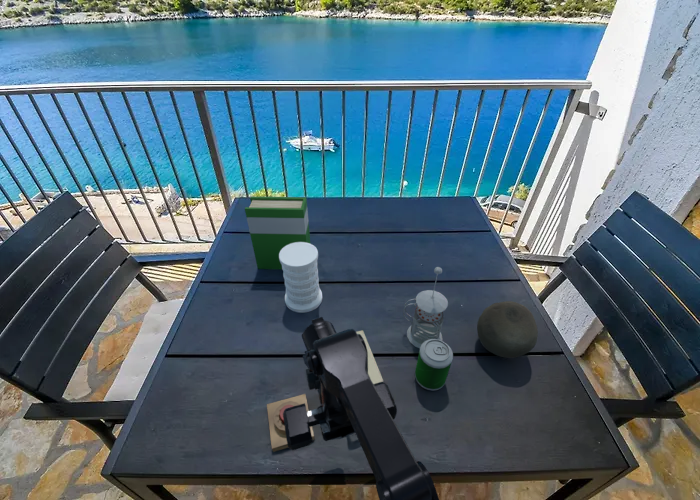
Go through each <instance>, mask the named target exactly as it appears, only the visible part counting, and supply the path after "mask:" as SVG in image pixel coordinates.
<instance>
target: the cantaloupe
mask: <svg viewBox="0 0 700 500" xmlns="http://www.w3.org/2000/svg"><path fill="white" fill-rule="evenodd" d="M476 331H477V337H478V339H479V342H480V343H481V345H482V346H483V347H484V349H485V350H486V351H488V352H490V353H491V354H493V355H495V356H498V357H501V358H505V359H514V358H519V357H522V356H524V355H526V354H528V353H529V352H531V351H532V350H533V349H534V348H535V346H536V344H537V341H538V337H539V330H538V325H537V321H536V319H535V316H534V314H533V313H532V311H531V310H530V309H529V308H528V307H527V306H525V305H523V304H521V303H519V302H517V301H512V300H506V301H499V302H494V303H492V304H490V305H489V306H488V307H485V308H484V310H483V311H482V313H481V314H480V315H479V317H478V320H477V323H476Z"/></svg>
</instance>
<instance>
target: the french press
mask: <svg viewBox="0 0 700 500" xmlns="http://www.w3.org/2000/svg"><path fill="white" fill-rule="evenodd" d="M433 273H434V274H435V276H436V277H435V281H434V286H433V290H432V289H426V290H422V291H420V292H418V293H417V294H416V297H415V298H412V299H411V298H410V299H407V301H406V302H405V303H404V308H403V310H402V311H403V312H402V314H403V317H404V319H406V321H408V322H409V323H411V325H409V326H408V329H407V330H406V337H407V339H408V341H409V343H410V344H412V345H413V346H414V347H416V349H417V348H418V349H420V347H421V345H422V344H423V343H424V342H425V341H427V340H430V339H437V340H441V341H443V333H442V332H441V330H442V328H443V323H444V311H446V310H447V308H448V306H449V302H448V299H447V298H446V296H445V295H444V294H442V293H441V292H439V291H436V290H435V289H436V285H437V280H438V275H441V274H442V273H443V269H442V267H440V266H436V267H435V268H434V269H433ZM410 301H415V302H411V303H409V302H410ZM408 303H409V304H408ZM410 305H414V308H415V310H414V313H413V316H411V315H410V314H409V313H408V312H407V309H406V308H407V307H408V306H410ZM406 315H407V316H409V318H412V321H411V320H410V319H408V318H407V317H406Z"/></svg>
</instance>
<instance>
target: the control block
mask: <svg viewBox="0 0 700 500" xmlns="http://www.w3.org/2000/svg"><path fill="white" fill-rule="evenodd" d="M304 403H305V406H306V411H307V412H308V411H310V409H309V405H308V404H309V403H308V399H307V395H306V393H303V394H299V395H296V396H292V397H288V398H284V399H281V400H278V401H277V400H276V401H273V402H270V403H267V404H266V410H267V411H266V412H267V418H268V420H267V421H268V428H269V437H270V438H269V439H270V445H271V451H272V453H275V452H278V451H281V450H285V449H289V448H288V444H287V439H286V432H285V425H284V423H283V422H282V421H281V418H280V410H281V409H282V408H283V407H284V406H285V405H293V406H297V405H301V404H304ZM310 430H311V436H312V441H314V440H315V439H316V438H315V433H314V428H313V426H311V427H310Z"/></svg>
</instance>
